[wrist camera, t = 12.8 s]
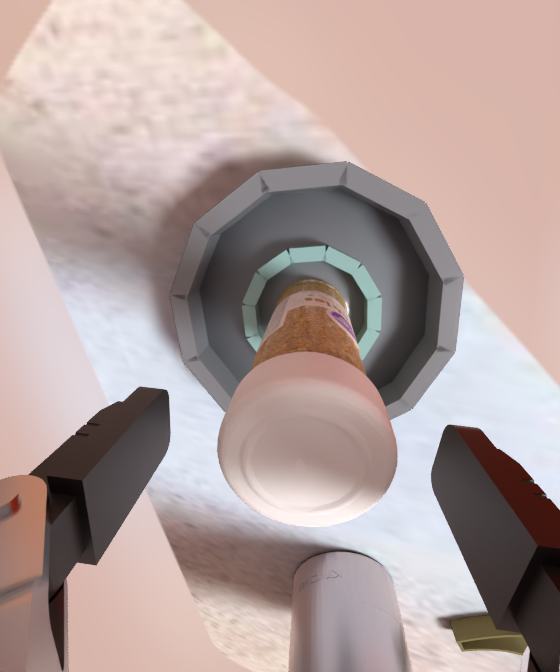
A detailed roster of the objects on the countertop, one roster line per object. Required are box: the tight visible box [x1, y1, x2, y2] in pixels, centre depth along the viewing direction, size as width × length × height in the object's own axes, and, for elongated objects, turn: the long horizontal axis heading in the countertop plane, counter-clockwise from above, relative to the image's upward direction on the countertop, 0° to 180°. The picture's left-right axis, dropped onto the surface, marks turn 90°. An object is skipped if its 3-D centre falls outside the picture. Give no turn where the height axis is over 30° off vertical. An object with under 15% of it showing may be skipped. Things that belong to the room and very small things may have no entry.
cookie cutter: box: [450, 615, 528, 656], centre depth 30 cm, size 18×12×2 cm, turn 44°
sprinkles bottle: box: [217, 279, 397, 527], centre depth 14 cm, size 5×5×14 cm
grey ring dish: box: [170, 161, 464, 420], centre depth 20 cm, size 16×16×3 cm
